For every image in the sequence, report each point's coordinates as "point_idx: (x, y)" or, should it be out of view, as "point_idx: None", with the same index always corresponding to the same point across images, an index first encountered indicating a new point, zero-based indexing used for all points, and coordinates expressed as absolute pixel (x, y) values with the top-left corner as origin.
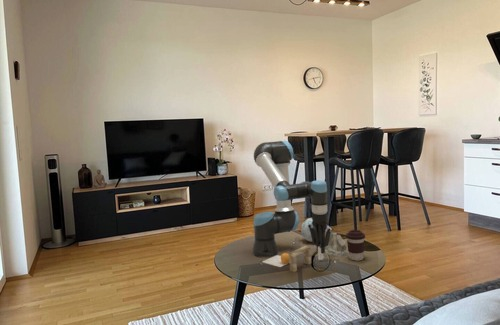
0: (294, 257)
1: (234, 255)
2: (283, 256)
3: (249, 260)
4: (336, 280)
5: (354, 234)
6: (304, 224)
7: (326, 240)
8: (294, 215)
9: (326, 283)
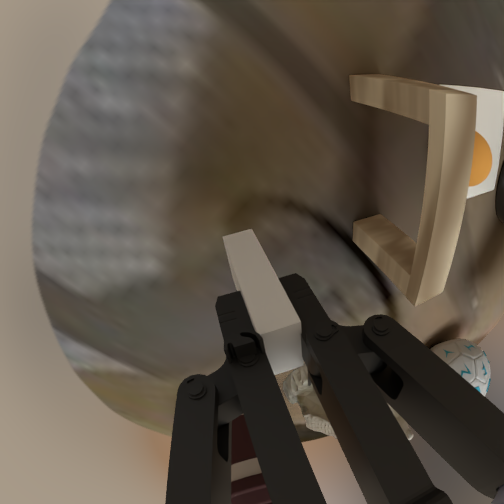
0: (423, 95)
1: None
2: (479, 141)
3: None
4: (57, 198)
5: (247, 501)
6: (485, 375)
7: (171, 482)
8: None
9: (54, 113)
